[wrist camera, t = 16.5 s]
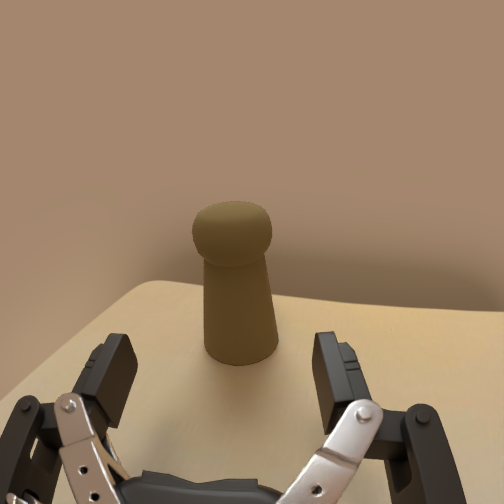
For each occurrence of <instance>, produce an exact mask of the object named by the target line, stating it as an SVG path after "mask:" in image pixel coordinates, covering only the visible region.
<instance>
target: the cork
mask: <svg viewBox="0 0 504 504" xmlns="http://www.w3.org/2000/svg"><path fill="white" fill-rule="evenodd" d="M192 235H193V241H194V243H195V246H196V248H197V250H198V253H199V254H200V255H201V256H202V257H203V258H204V344H205V348H206V351H207V352H208V353H209V354H210V355H211V356H212V357H213V358H215V359H216V360H218V361H220V362H222V363H226V364H231V365H248V364H252V363H256V362H259V361H261V360H263V359H264V358H266V357H268V356H269V355H270V354H271V353H272V352H273V351H274V350H275V349H276V346H277V344H278V341H279V340H278V332H277V326H276V320H275V314H274V308H273V302H272V296H271V291H270V285H269V279H268V273H267V267H266V261H265V256H264V253H265V251H266V250H267V249H268V247H269V245H270V242H271V238H272V226H271V221H270V218H269V215H268V214H267V212H266V211H265V209H263V208H262V207H261V206H259V205H257V204H254V203H250V202H243V201H230V202H222V203H217V204H213V205H211V206H208V207H206V208H204V209H203V210H201V211H200V212H199V213H198V214H197V216H196V219H195V221H194V223H193V228H192Z"/></svg>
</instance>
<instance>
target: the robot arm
mask: <svg viewBox="0 0 504 504" xmlns="http://www.w3.org/2000/svg"><path fill="white" fill-rule="evenodd" d="M137 368H138V362H137V358H136V355H135V353H134V350H133V348H132V345H131V342H130V340H129V337H128V335H126V334H116V333H111V334H109V335H108V337H107V339H106V341H105V343H104V344H100V345H99V346H98V347H96V348H95V349H94V350H93V351H92V353H91V355H90V357H89V359H88V361H87V363H86V365H85V368H83V370H82V372H81V374H80V376H79V378H78V380H77V382H76V384H75V386H74V388H73V390H72V392H71V393H66V394H63V395H61V396H60V397H59V398H58V399H57V400H56V402H55V403H43V404H40V402H39V401H38V400H37V398H36V397H34V396H31V395H28V396H24V397H22V398H21V399H19V400H18V402H17V403H16V405H15V407H14V409H13V411H12V413H11V415H10V417H9V420H8V422H7V424H6V426H5V428H4V431H3V433H2V435H1V438H0V504H52V500H53V496H54V492H55V488H56V484H57V480H58V477H59V473H60V470H61V466H62V463H63V467H64V470H65V473H66V476H67V479H68V482H69V484H70V487H71V490H72V493H73V495H74V498H75V500H76V503H77V504H336V503H337V501H338V500H339V498H340V497H341V495H342V494H343V492H344V491H345V489H346V487H347V486H348V484H349V483H350V481H351V479H352V478H353V476H354V474H355V472H356V471H357V469H358V467H359V465H360V463H361V461H362V459H363V458H366V459H379V460H384V464H385V469H386V474H387V479H388V485H389V490H390V496H391V502H392V504H467V503H466V499H465V495H464V492H463V488H462V484H461V481H460V477H459V474H458V471H457V467H456V464H455V461H454V458H453V455H452V452H451V449H450V446H449V443H448V440H447V437H446V434H445V432H444V429H443V426H442V423H441V421H440V418H439V415H438V413H437V412H436V410H435V409H434V408H433V407H431V406H429V405H427V404H416V405H413V406H411V407H410V408H409V409H408V410H407V412H402V411H390V410H385V409H383V408H381V407H380V406H379V405H378V404H377V403H376V402H374V401H373V400H372V398H371V396H370V393H369V390H368V387H367V384H366V381H365V378H364V376H363V373H362V370H361V367H360V364H359V362H358V359H357V356H356V354H355V351H354V350H353V349H352V348H351V346H350V345H349V344H348V343H347V342H345V343H338V342H337V339H336V336H335V333H334V332H333V331H332V332H320V333H316V334H315V339H314V348H313V356H312V370H313V376H314V381H315V386H316V391H317V396H318V401H319V406H320V411H321V417H322V422H323V427H324V433H325V435H328V434H330V435H329V437H328V438H327V440H326V441H325V443H324V444H323V446H322V447H321V448H320V449H318V450H317V451H316V452H315V453H314V455H313V456H312V457H311V459H310V460H309V461H308V463H307V464H306V465H305V467H304V468H303V469H302V471H301V472H300V473H299V475H298V476H297V477H296V479H295V480H294V481H293V482H292V484H291V485H290V486H289V487H288V489H287V490H286V491H285V492H284V493H281V492H279V491H278V490H275V489H273V488H270V487H267V486H263V485H258V480H257V479H223V480H218V481H212V482H205V483H193V482H190V481H187V480H184V479H181V478H178V477H176V476H173V475H170V474H164V473H157V472H151V471H145V470H143V472H142V476H140V477H134V478H130V477H129V475H128V474H127V472H126V471H125V470H124V468H123V466H122V464H121V462H120V460H119V458H118V456H117V454H116V452H115V450H114V448H113V445H112V443H111V441H110V439H109V436H108V434H107V433H106V431H107V428H108V427H112V428H118V425H119V422H120V418H121V415H122V412H123V410H124V407H125V404H126V401H127V398H128V395H129V392H130V389H131V386H132V384H133V381H134V378H135V375H136V373H137ZM36 438H37V439H38V442H37V445H36V448H35V450H34V453H33V456H32V459H30V452H31V449H32V447H33V444H34V441H35V439H36Z"/></svg>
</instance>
